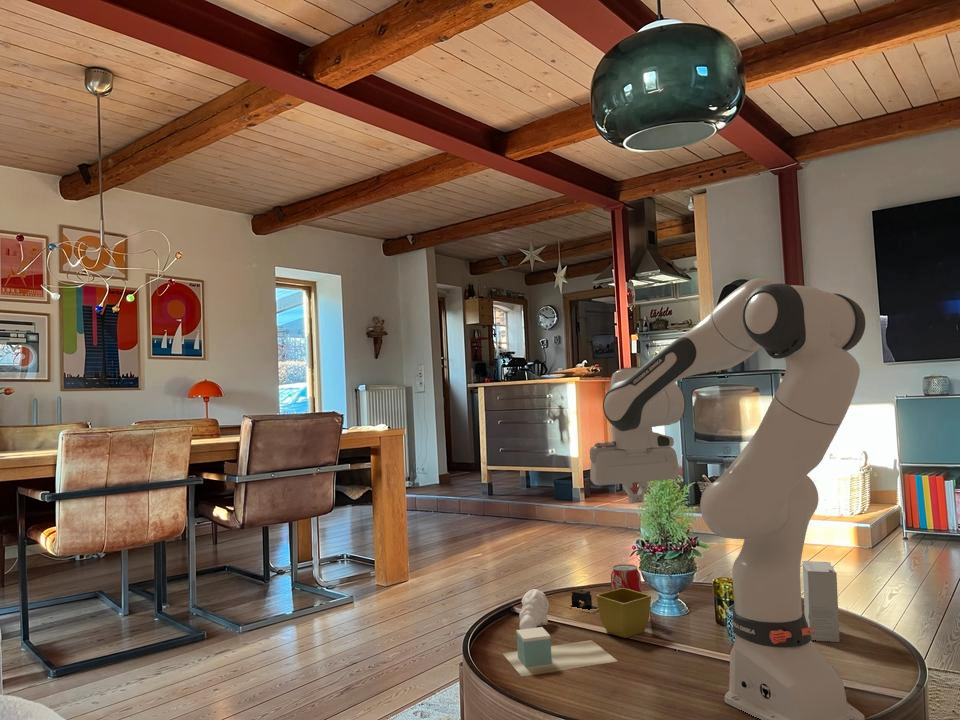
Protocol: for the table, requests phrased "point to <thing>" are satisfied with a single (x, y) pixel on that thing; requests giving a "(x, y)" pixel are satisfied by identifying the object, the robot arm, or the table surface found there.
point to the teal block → (534, 647)
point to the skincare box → (821, 600)
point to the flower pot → (624, 611)
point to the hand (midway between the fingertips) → (636, 502)
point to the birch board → (565, 658)
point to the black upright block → (582, 599)
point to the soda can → (626, 577)
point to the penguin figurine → (533, 609)
